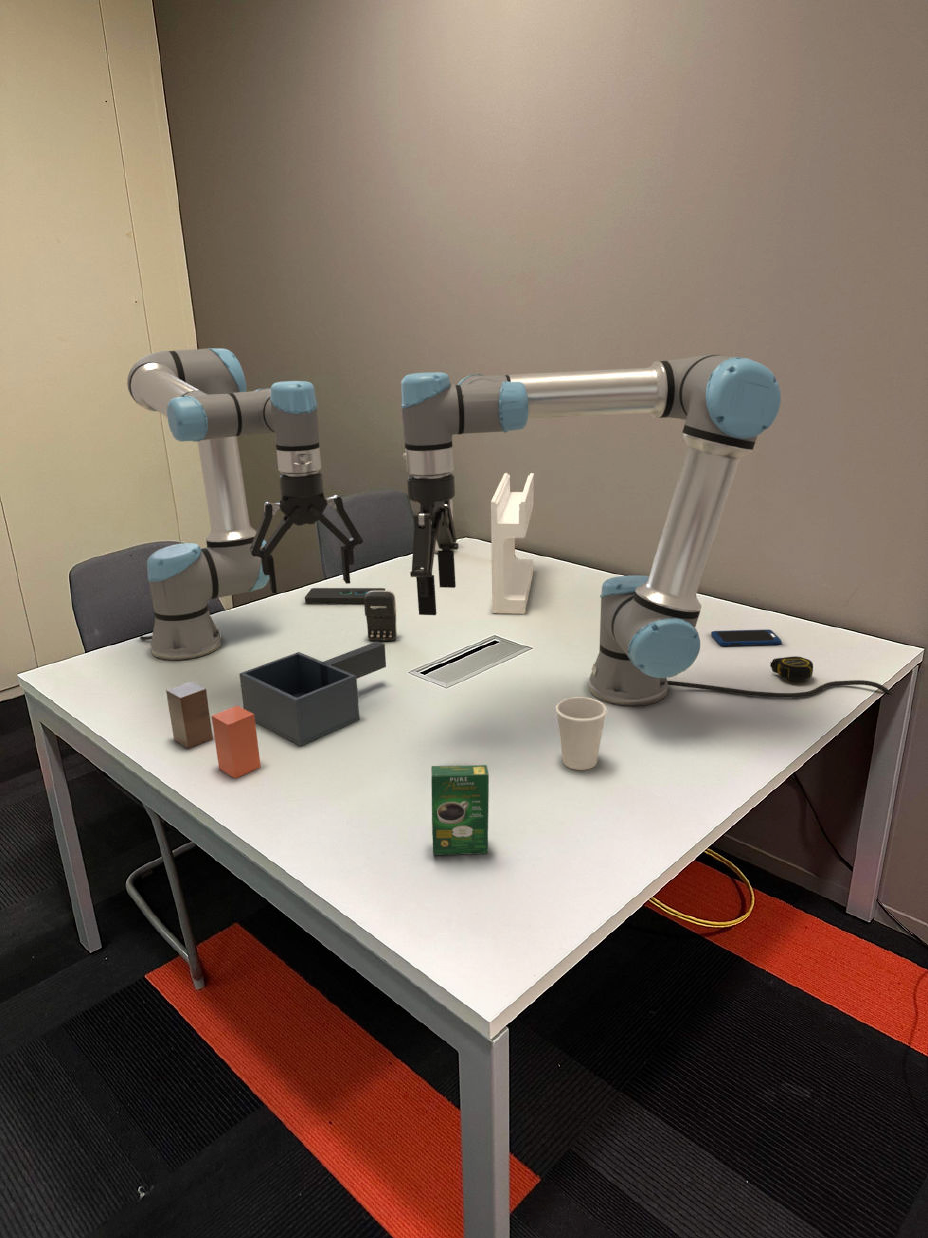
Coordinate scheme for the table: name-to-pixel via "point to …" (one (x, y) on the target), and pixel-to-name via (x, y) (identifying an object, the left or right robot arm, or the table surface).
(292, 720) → the tote
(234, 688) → the table surface
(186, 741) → the walnut block
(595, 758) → the dixie cup
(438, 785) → the coffee box
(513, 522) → the white stand
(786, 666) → the tape measure
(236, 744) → the terracotta block
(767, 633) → the cell phone
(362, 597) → the smart home device
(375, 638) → the battery charger
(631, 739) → the table surface
